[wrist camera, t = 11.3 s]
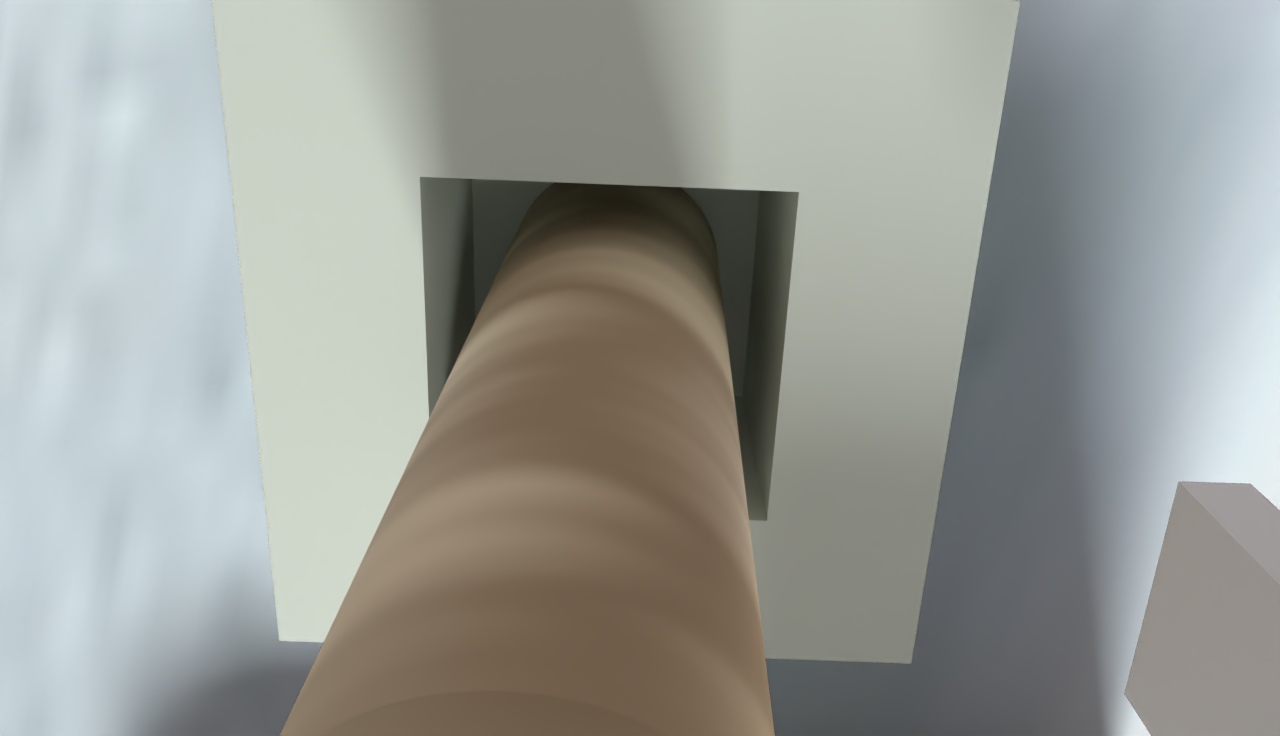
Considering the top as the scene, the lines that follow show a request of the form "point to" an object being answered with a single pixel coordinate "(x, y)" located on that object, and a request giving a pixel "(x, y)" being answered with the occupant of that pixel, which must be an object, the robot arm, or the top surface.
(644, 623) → the birch peg
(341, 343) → the socket block
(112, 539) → the top surface
